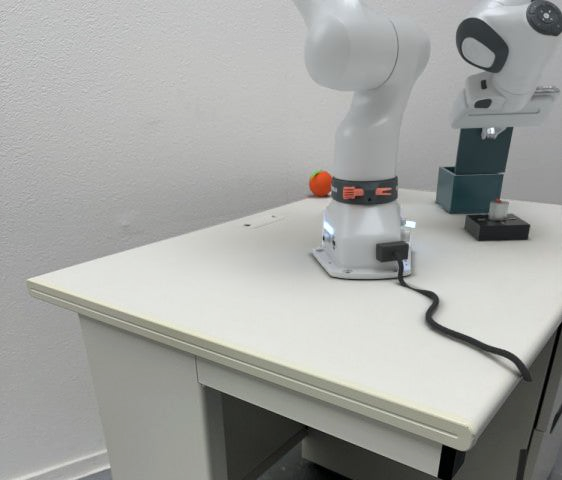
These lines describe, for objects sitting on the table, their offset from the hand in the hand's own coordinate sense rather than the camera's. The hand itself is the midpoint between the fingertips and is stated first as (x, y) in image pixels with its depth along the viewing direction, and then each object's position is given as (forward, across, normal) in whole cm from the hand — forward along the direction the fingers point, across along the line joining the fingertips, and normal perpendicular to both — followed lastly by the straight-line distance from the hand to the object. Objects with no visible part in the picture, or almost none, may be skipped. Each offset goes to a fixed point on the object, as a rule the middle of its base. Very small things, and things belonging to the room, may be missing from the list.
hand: (488, 136), depth 122 cm
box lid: (+2, 0, -1) cm, 2 cm away
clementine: (+33, +36, -8) cm, 49 cm away
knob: (-2, +1, +22) cm, 22 cm away
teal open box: (+19, 0, +5) cm, 20 cm away
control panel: (0, +2, +24) cm, 25 cm away
